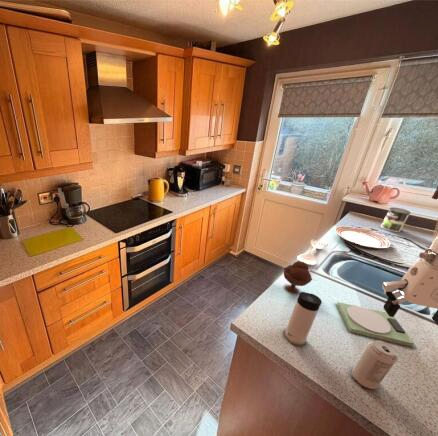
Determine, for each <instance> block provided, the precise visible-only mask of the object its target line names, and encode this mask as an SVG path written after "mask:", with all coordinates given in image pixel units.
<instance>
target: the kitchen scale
mask: <svg viewBox="0 0 438 436" xmlns="http://www.w3.org/2000/svg"><path fill="white" fill-rule="evenodd" d="M336 308H337V309H338V311H339V313H340V315H341V317H342V319H343V320H344V323H345V325H346V327H347V329H348V331H349V333H353V334H358V335H361V336H365V337H369V338H374V339H376V340H381V341H385V342H391V343H395V344H398V345H401V346H402V345H403V346H406V347H412V348H413V347H414V345H415V342H414V341H413V340H412V338H411V337H410V336H409V334H408V333H407V332H406V330H405V329H404V328H403V326H402V325H401V324H400V323H399V321H398V320H397V319H396V317H395V316H394V317H390V316H389V315H388V314H387V312H386V311H382V310H377V309H372V308H369V307H364V306H359V305H353V304H349V303H345V302H340V301H338V302H337V303H336Z"/></svg>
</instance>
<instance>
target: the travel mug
mask: <svg viewBox="0 0 438 436" xmlns="http://www.w3.org/2000/svg"><path fill="white" fill-rule="evenodd" d="M321 304H322V299H321V298H320V297H319V296H318V295H316V294H314V293H310V292H307V291H306V292H305V291H301V292H299V293H298V296H297V299H296V301H295V304H294V307H293V309H292V312H291V314H290V318H289V320H288V323H287V326H286V329H285V332H284V336H285V339H286V340H287V341H288V342H289V343H291V344H293V345H296V346H303V345H305V342H306V340H307V338H308V336H309V333H310V331H311V330H312V329H311V328H312V326H313V324H314V322H315V320H316V317H317V315H318V313H319V309H320V307H321Z"/></svg>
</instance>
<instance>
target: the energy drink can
mask: <svg viewBox="0 0 438 436" xmlns="http://www.w3.org/2000/svg"><path fill="white" fill-rule="evenodd" d="M397 360H398V357H397V350H396V349H395V348H394V346H392V344H390V343H388V342H387V341H385V340H381V339H374V340H373V341H369V342H368V343H367V345H366V347H365V348H364V350H363V352H362V353H361V355H360V356H359V358H358V360H357V361H356V363H355V365H354V367H353V368H352V370H351V374H352V376H353V378H354V379H355V381H356V382H357V383H358V384H359V385H361V386H362V387H364V388H367V389H371V390H375V389H377V388H378V387H379V386H380V384H381V383H382V381H383V380H384V378H385V377H386V376H387V374H388V373H389V372H390V371H391V369H392V367H394V365H395V363H396V362H397Z"/></svg>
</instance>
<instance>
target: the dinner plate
mask: <svg viewBox="0 0 438 436" xmlns="http://www.w3.org/2000/svg"><path fill="white" fill-rule="evenodd" d="M360 232H362V233H360ZM334 233H335V234H337V236H339V237H340V238H341V239H343V240H345V241H347V242H348V243H349V242H350V243H351V244H354V243H355V244H354V245H357V244H358V245H357V246H360V247H366V248H373V249H387V248H390V247H391V245H392V243H391V242H390V241H389V239H387V238H386V237H384V236H383V235H381V234H379V233H376V232H374V231H371V230H368V229H365V228H361V227H357V226H349V225H340V226H336V227H334ZM364 233H367V234H364ZM368 234H370V235H368ZM371 235H373V236H376V237H378V238H379V239H381V240H382V241H383V242H384V243H385V245H384V246H383V242H382V241H381V240H379V239H377V238H375V237H373V236H371ZM381 246H382V247H381Z"/></svg>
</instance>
